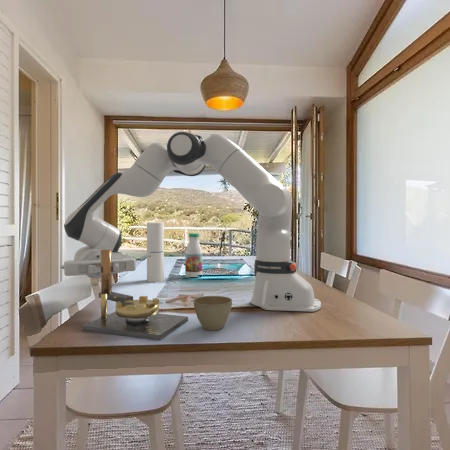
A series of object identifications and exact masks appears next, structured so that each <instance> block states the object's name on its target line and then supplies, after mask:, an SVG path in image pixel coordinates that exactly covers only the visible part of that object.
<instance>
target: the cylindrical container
mask: <svg viewBox="0 0 450 450" xmlns="http://www.w3.org/2000/svg"><path fill="white" fill-rule="evenodd" d="M164 228H165V222H158V221H157V222H154V221H152V222H146V282H148V283H161V282H164V281H165V268H164V267H165V266H164V265H165V262H164V261H165V231H164V230H165V229H164Z"/></svg>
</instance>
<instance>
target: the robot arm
mask: <svg viewBox="0 0 450 450" xmlns="http://www.w3.org/2000/svg"><path fill="white" fill-rule="evenodd" d="M206 166H209V167H211V168H213V169H214V170H215V171H216V172H217V173H218V174H219V175H220V176H221V177H222V178H223V179H224V180H225V181H226V182H228V184H230V185H231V186H232V187H233V188H234V189H235V190H236V191H237V192H238V193H239V194H240V195H241V196H242V197H243V198H244V199H245V200H246V201H247V203H248V204H249V205H251V207H252V208H253V209H254V210H255V211H256V212H257V213H258V221H257V232H256V238H255V240H256V241H255V242H256V246H255V247H256V249H255V257H256V258H255V260H254V264H253V265H254V266H253V267H254V268H253V274H254V284H253V285H254V287H253V292H252V296H251V298H250V299H251V300H250V303H251V304H252V305H254V306H256V307H259V308H261V309H263V310H266V311H288V312H317V311H319V310H320V309H321V308H322V302H321V301H320V300H319V299H318V298H315V293H314V289H313V287H312V285H311V283H310V282H308V281H307V280H306V279H305V278H304V277H302V276H301V275H300V274H298V273H297V262H294V261H293V260H291V235H292V233H291V232H292V214H293V213H292V211H293V197H292V195H291V192H290V191H289V190H288V188H286V187H284V185H282V184H281V183H280V182H279V181H278V180H277V179H276V178H275V177H273V176H272V175H271V174H270V173H269V172H268V171H267V170H266V169H265V168H264V167H262V165H260V164H259V163H258V162H257V161H256V160H255V159H253V158H252V156H250V155H249V154H248V153H247V152H245V150H244V149H243V148H241V147H240V146H239V145H237V143H235V142H233V141H232V140H231V139H229V138H228V137H227V136H225V135H223V134H221V133H215V134H212V135H210V136H208V137H207V138H206V139H204V137H203V136H201V135H198V134H194V133H191V132H187V131H179V132H176V133H173V134H172V135H171V136H170V137H169V139H168V141H167V144H166V145H165V144H164V143H160V142H153V143H151V144H149V146H147V147H146V148H145V149H144V150H143V151H142V153H140V155H139V156H138V158H137V159H136V160H135V161H134V163H133V164H132V165H131V167H130V168H128V169H127V170H126V171H123V172H119V171H118V172H115V173H114V174H112V175H111V176H109V177H108V179H106V180H105V181H104V182H103V183H102V184H101V185H100V186H98V188H97V189H96V190H95V191H94V192H93V193H92V194H91V195H90V196H88V197H87V199H86V200H85V201H84V202H83V203H82V204H81V205H80V206H79V207H77V209H75V210H74V211H72V212H71V213H70V214H69V215H68V216H67V218H66V219H65V222H64V223H63V228H64V231H65V233H66V235H67V237H68V238H71V239H73V240H75V241H77V242H80V243H82V244H84V245H86V246H83V247H81V248H79V249H78V250H77V251H76V252H75V253H74V256H73V259H71V260H66V261H64V262H63V264H61V265H60V269H61V270H63V274H64V276H67V277H72V276H74V277H75V276H86V277H88V278H91V279H101V250H106V249H109V250H111V251H112V275H115V274H120V273H124V272H125V273H126V272H134V271H136V268H137V260H136V258H135V257H133V256H130V255H127V254H125V253H124V252H123V251H119V249H120V248H121V245H122V241H123V240H122V239H123V238H122V237H123V236H122V233H121V230H120V229H119V228H117V227H116V226H114V225H113V224H110V223H109V222H107V221H105V220H103V219H101V218H100V217H98V216H97V215H95V212H96V211H97V209H99V207H100V206H101V205H103V203H105V201H107V199H108V198H109V197H111V196H113V195H116V194H119V195H121V194H122V195H126V196H131V197H136V198H145V197H148V196H151V195H153V194H154V193H155V192H156V191H157V189H158V188H159V186H160V185H161V183H162V182H163V181H164V179H165V178H166V177H167V175H168V174H169V173H170V172H172V171H173V172H174V173H176V174H180V175H184V176H187V177H196V176H199V175H201V174H202V173H203V172H204V171H205V169H206Z"/></svg>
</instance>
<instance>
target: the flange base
mask: <svg viewBox="0 0 450 450" xmlns="http://www.w3.org/2000/svg"><path fill="white" fill-rule="evenodd" d="M187 322H189V316H186V315H179V314H177V315H176V314H169V313H167V314H166V313H157V314H156V315H153V316H149V317H144V318H123V317H119V316H117V315H116V310H115V311H114V312H113V311H112V312H111V313H108V300H107V294H106V293H103V294H101V298H100V318H99V317H98V318H97V319H95V320H93V321H90V322H88V323H85V324H83V325H82V331H84V332H93V333H99V334H100V333H101V334H109V335H117V336H123V337H131V338H139V339H141V338H142V339H148V340H154V341H155V340H156V341H161V340H162V339H165V337H167V336H168V335H170V334H172V333H173V332H174V331H176V330H177V329H179V328H180V327H182V326H183V325H184V324H186V323H187Z"/></svg>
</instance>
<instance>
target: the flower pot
mask: <svg viewBox="0 0 450 450" xmlns="http://www.w3.org/2000/svg"><path fill="white" fill-rule="evenodd" d="M192 302H193V307H194V312H195V314H196V317H197V319H198V321H199V323H200V325H201V326H202V328H203V329H204V330H207V331H218V330H221V329H223V328H224V326H225V324H226V323H227V320H228V318H229V316H230V314H231V311H232V306H233V299H232V298H231V297H228V296H221V295H206V296H205V295H204V296H199V297H196V298H194V299H193V301H192Z"/></svg>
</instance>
